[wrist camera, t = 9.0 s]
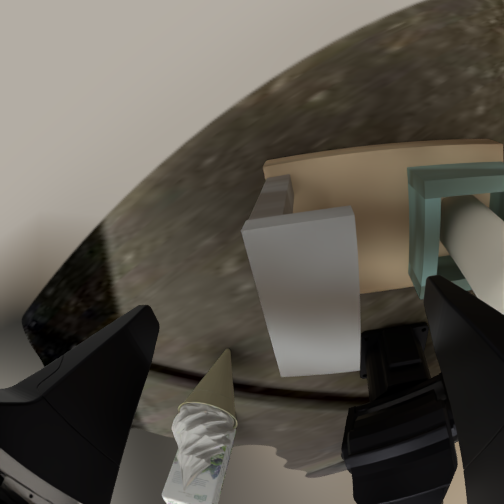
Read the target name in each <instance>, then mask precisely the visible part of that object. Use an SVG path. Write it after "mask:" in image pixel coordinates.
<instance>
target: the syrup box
mask: <svg viewBox="0 0 504 504" xmlns="http://www.w3.org/2000/svg"><path fill="white" fill-rule="evenodd" d="M235 434H236V428H235V429H234V432H233V433H230V434H227V435H226V438H228V439H230V440H231V444H230V445H226V446H222V447H221V448H222V449H223V450H224V452H223V453H220V454H217V455H214V456H213V457H211V459H210V461H211V465H209V466H208V467H207V468H206V469H205V470H203V471H202V472H201V473H200V474H199V475H198V476H197V478H196V479H195V480H194V481H193V482H192V483H191V484H190V485H189V486H188V487H187V488H186V490H185V491H184V490H183V481H182V474H181V467H180V464H179V461H178V459H177V457H175V459H174V462H173V465H172V468H171V470H170V473H169V476H168V479H167V481H166V484H165V487H164V490H163V492H162V497H163V499H164V500H165V502H166V503H167V504H218V502H219V498H220V494H221V490H222V486H223V482H224V478H225V474H226V470H227V466H228V462H229V458H230V454H231V450H232V446H233V442H234V438H235ZM178 451H179V448H178ZM178 451H177V453H178ZM176 456H177V454H176Z"/></svg>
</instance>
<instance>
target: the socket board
mask: <svg viewBox="0 0 504 504" xmlns="http://www.w3.org/2000/svg"><path fill="white" fill-rule="evenodd" d="M263 170H264V175H265V179H266V181H265V183H264V186H263V188H262V190H261V192H260V195H259V197H258V199H257V201H256V204H255V206H254V208H253V210H252V213H251V215H250V217H249V220H246V221H245V224H244V226H243V228H242V230H241V233H242V236H243V240H244V244H245V247H246V251H247V255H248V258H249V262H250V266H251V269H252V273H253V277H254V280H255V284H256V288H257V291H258V295H259V299H260V302H261V306H262V309H263V313H264V317H265V320H266V324H267V328H268V331H269V335H270V338H271V342H272V346H273V349H274V353H275V356H276V360H277V364H278V367H279V371H280V374H281V377H291V376H307V375H320V374H332V373H342V372H351V371H359V370H360V294H363V293H370V292H378V291H385V290H392V289H398V288H405V287H411V286H414V287H415V289H416V292H417V294H418V296H419V298H420V299H424V293H425V284H426V279H427V277H428V276H432V275H441V276H443V277H444V278H446V279H448V280H449V281H451V282H453V283H454V284H456V285H458V286H459V287H461V288H463V289H464V290H466V291H468V290H472V288H471V286H470V285H469V283H468V281H467V280H466V278H465V277H464V275H463V274H462V272H461V270H460V269H459V267H458V266H457V264H456V263H455V261H454V260H453V258H452V257H451V256H450V254H449V253H448V251H447V250H446V248H445V247H444V246H443V244H442V243H441V241H440V220H441V201H442V200H443V199H444V198H445V197H451V196H461V195H473V196H474V197H476V198H477V199H478V200H479V201H481V202H482V203H483V204H484V205H485V206H487V207H488V208H489V209H490V210H491V211H493V212H494V213H495V214H496V215H497V216H498V217H499V218H501V219H502V220H503V221H504V163H503V144H501V143H498V142H496V141H493V140H490V139H449V140H428V141H412V142H399V143H388V144H377V145H368V146H359V147H350V148H342V149H335V150H327V151H320V152H314V153H307V154H301V155H295V156H289V157H283V158H277V159H271V160H267V161H266V162H265V164H264V166H263Z"/></svg>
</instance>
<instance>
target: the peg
mask: <svg viewBox="0 0 504 504" xmlns="http://www.w3.org/2000/svg"><path fill="white" fill-rule="evenodd" d="M440 241H441V243H442V244H443V246H444V247H445V248H446V250H447V251H448V253H449V254H450V256H451V257H452V258H453V260H454V261H455V263H456V264H457V266H458V267H459V269H460V270H461V272H462V274H463V275H464V277H465V278H466V280H467V281H468V283H469V285H470V286H471V288H472V290H473V291H474V293H475V295H476V296H477V298H479V299H480V300H482V301H483V302H485V303H487V304H488V305H490V306H491V307H493V308H494V309H496V310H497V311H499V312H500V313H502V314H503V315H504V221H503V220H502V219H501V218H499V217H498V216H497V215H496V214H495V213H494V212H493V211H491V210H490V209H489V208H488V207H487V206H485V205H484V204H483V203H482V202H481V201H479V200H478V199H477V198H476V197H474V196H473V195H461V196H451V197H445V198H444V199H443V200H442V201H441V220H440Z"/></svg>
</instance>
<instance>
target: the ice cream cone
mask: <svg viewBox="0 0 504 504" xmlns="http://www.w3.org/2000/svg"><path fill="white" fill-rule="evenodd" d="M178 412H179V414H178V415H176V418H175V419H174V421H173V424H172V428H171V429H172V431H173V434H174V437H175V439H176V441H177V443H178V447H179V451H178V453H177V456H176V457H177V459H178V461H179V464H180V467H181V474H182V481H183V490H184V491H185V490H186V488H187V487H188V486H189V485H190V484H191V483H192V482H193V481H194V480H195V479H196V478H197V476H198V475H199V474H200V473H201V472H202V471H203V470H205V469H206V468H207V467H208V466H209V465H211V461H210V459H211V457H213V456H214V455H217V454H220V453H223V452H224V450H223V449H222V448H221V447H222V446H226V445H230V444H231V440H230V439H228V438H226V435H227V434H230V433H233V432H234V429H235V428H236V427H237V420H236V417H235V405H234V391H233V378H232V365H231V351H230V349H226V350H225V351H224V352H223V354H222V355H221V356H220V357H219V359H218V360H217V361H216V363H215V364H214V365H213V366H212V368H211V369H210V370H209V371H208V373H207V374H206V375H205V377H204V378H203V379H202V380H201V382H200V383H199V384H198V385H197V387H196V388H195V389H194V391H193V392H192V393H191V394H190V396H189V397H188V398H187V399H186V401H185V402H184V403H182V404H181V405H180V406H179V407H178Z"/></svg>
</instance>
